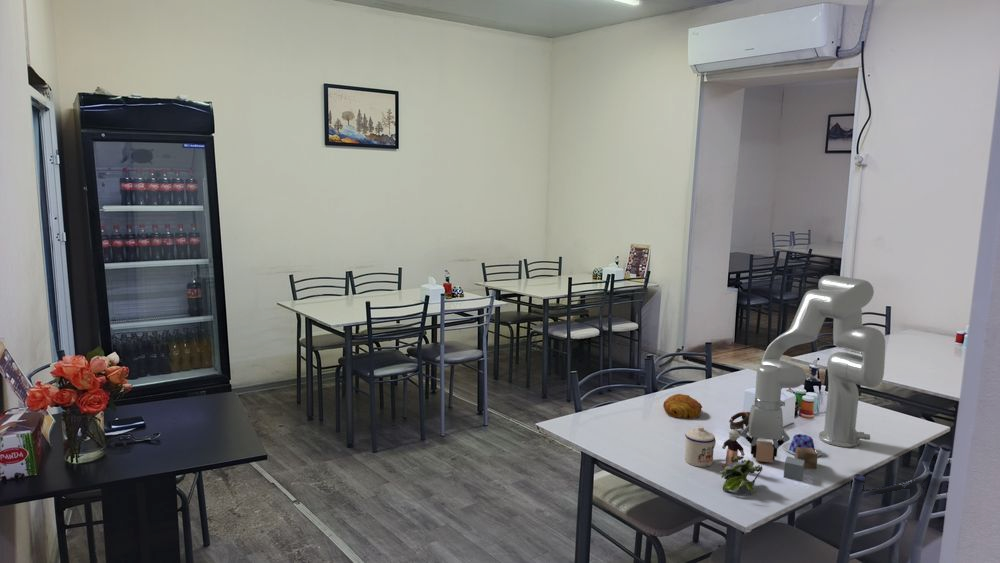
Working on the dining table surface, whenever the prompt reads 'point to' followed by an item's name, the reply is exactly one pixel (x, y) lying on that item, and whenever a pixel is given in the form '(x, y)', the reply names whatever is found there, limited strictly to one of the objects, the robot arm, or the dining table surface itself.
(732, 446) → the grandmother figurine
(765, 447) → the terracotta cube
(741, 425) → the brown curved piece
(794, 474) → the slate grey cube
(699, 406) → the croissant
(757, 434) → the robot arm
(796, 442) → the purple patterned hat
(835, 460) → the dining table surface
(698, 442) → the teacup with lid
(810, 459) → the walnut cube
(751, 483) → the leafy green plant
